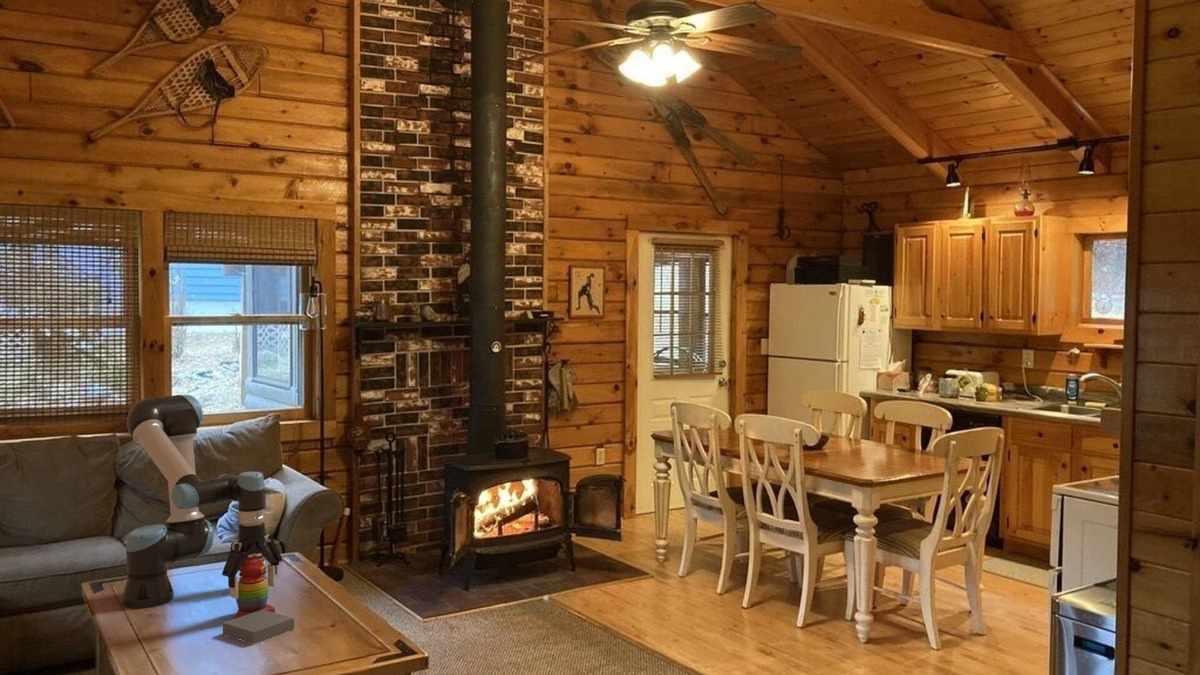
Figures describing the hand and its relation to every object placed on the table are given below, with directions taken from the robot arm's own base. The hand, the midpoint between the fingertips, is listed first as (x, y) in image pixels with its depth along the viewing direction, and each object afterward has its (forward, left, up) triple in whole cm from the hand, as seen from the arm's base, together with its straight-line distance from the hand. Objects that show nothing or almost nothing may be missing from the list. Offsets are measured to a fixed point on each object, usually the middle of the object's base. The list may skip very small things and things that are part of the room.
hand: (253, 591), depth 301 cm
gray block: (+14, -9, -8) cm, 18 cm away
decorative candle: (-22, +17, -7) cm, 29 cm away
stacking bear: (0, 0, -7) cm, 7 cm away
